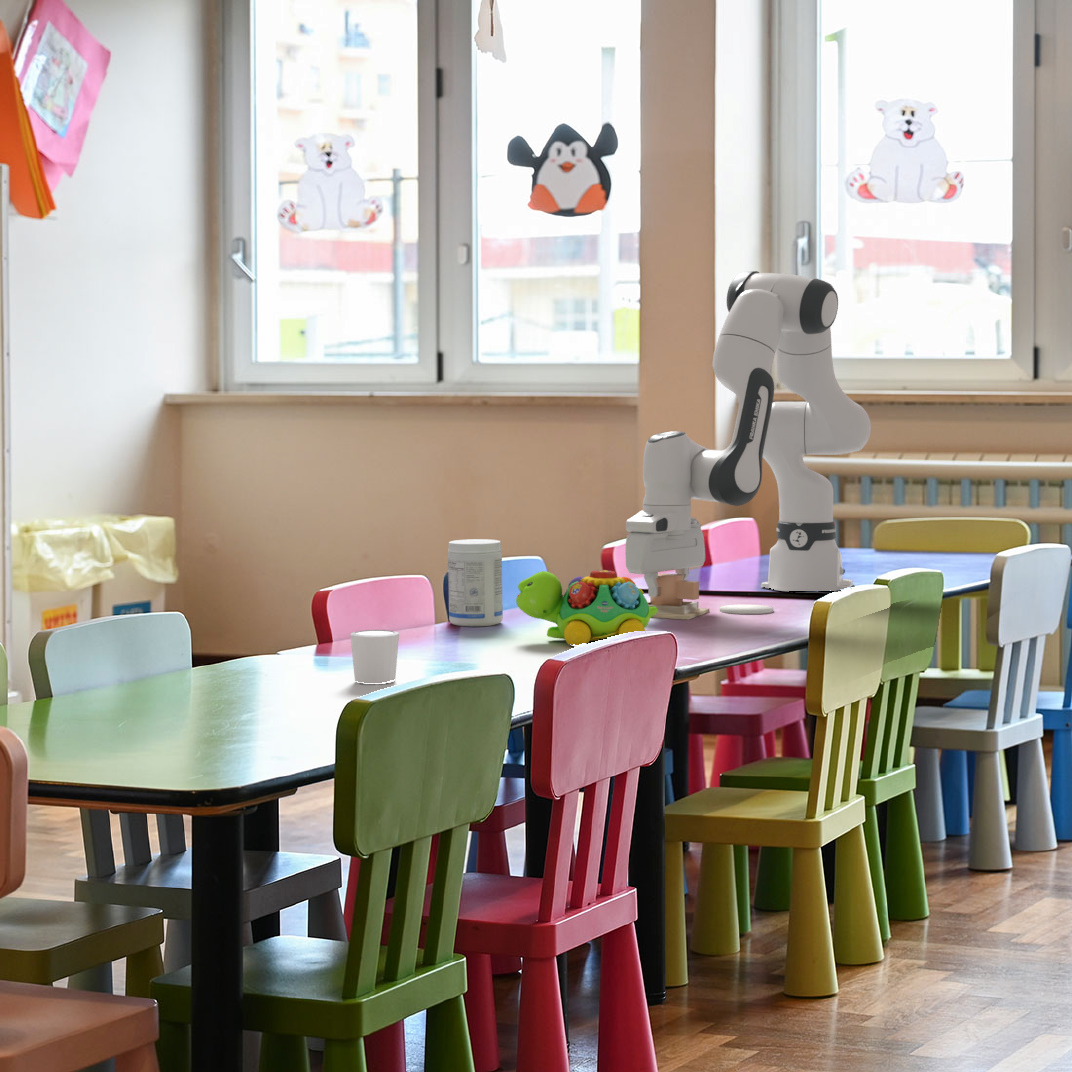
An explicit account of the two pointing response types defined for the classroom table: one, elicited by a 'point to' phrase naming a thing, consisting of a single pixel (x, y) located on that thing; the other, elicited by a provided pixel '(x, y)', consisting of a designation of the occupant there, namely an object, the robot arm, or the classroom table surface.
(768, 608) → the coaster
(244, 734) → the classroom table surface
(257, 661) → the classroom table surface
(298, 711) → the classroom table surface
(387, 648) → the white cup
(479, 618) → the supplement tub
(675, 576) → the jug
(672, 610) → the jug stand
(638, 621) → the turtle toy
